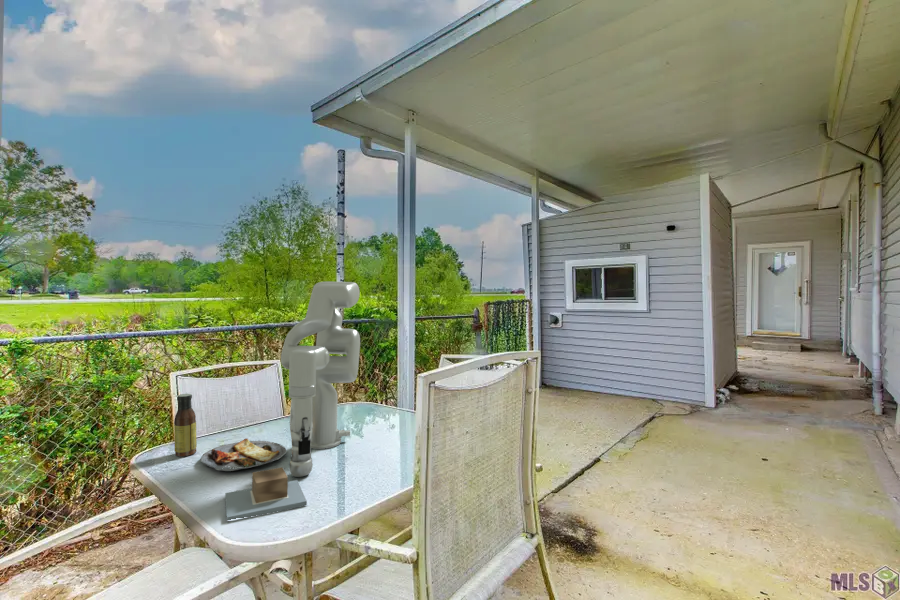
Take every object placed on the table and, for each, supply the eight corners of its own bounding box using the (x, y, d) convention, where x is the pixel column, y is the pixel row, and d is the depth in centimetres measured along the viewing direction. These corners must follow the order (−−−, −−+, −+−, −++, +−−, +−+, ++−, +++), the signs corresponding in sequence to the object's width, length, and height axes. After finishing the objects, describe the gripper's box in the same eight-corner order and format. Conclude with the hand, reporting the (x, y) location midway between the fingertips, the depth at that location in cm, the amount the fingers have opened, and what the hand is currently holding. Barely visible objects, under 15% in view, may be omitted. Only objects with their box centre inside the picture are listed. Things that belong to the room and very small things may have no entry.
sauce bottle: (190, 449, 146) (191, 391, 146) (200, 453, 143) (201, 393, 143) (169, 455, 141) (170, 394, 141) (179, 459, 137) (180, 397, 137)
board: (297, 484, 121) (297, 479, 121) (306, 505, 109) (306, 500, 109) (225, 497, 112) (225, 492, 112) (226, 522, 100) (226, 517, 100)
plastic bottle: (317, 472, 129) (318, 406, 129) (302, 481, 123) (303, 411, 123) (299, 469, 131) (300, 404, 131) (284, 477, 125) (285, 409, 125)
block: (282, 485, 117) (282, 467, 117) (287, 496, 111) (287, 477, 111) (252, 491, 113) (252, 472, 113) (255, 503, 107) (256, 483, 107)
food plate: (187, 460, 136) (188, 449, 136) (256, 441, 155) (256, 432, 155) (229, 483, 122) (229, 470, 122) (298, 459, 141) (299, 449, 141)
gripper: (284, 386, 133) (283, 442, 133) (293, 398, 118) (292, 460, 118) (309, 384, 136) (308, 438, 136) (321, 395, 121) (320, 456, 121)
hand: (301, 448), depth 127 cm, fingers open, 9 cm apart
